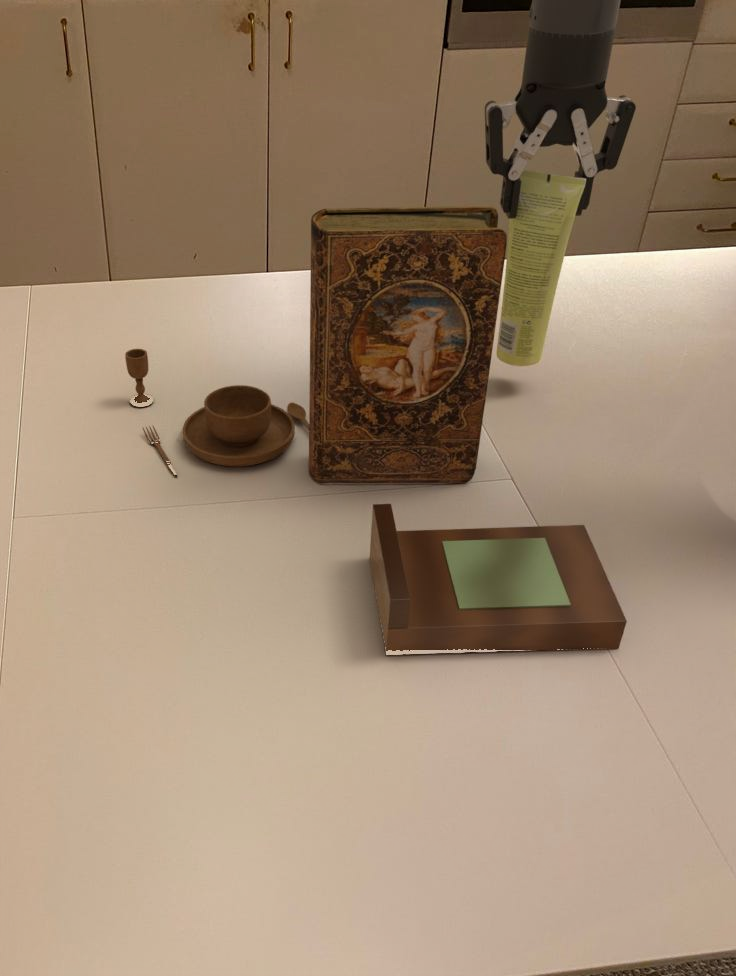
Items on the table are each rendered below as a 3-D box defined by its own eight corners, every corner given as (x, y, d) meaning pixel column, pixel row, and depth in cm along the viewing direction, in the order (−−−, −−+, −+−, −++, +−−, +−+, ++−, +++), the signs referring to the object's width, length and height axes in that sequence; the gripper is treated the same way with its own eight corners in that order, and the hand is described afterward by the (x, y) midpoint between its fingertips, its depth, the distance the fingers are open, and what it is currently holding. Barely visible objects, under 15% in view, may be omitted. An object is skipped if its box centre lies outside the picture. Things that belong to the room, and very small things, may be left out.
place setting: (177, 489, 99) (172, 438, 95) (121, 400, 113) (115, 351, 109) (335, 451, 103) (336, 400, 99) (263, 369, 117) (262, 322, 113)
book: (308, 484, 99) (311, 232, 82) (308, 455, 103) (311, 208, 86) (473, 484, 98) (510, 229, 81) (467, 454, 102) (500, 205, 85)
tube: (535, 344, 112) (564, 161, 99) (554, 364, 108) (587, 177, 95) (488, 350, 111) (511, 167, 98) (505, 371, 108) (531, 183, 94)
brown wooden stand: (577, 551, 90) (591, 496, 86) (618, 648, 80) (635, 592, 76) (369, 558, 90) (372, 503, 86) (385, 656, 80) (390, 600, 76)
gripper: (500, 34, 85) (477, 231, 97) (667, 26, 85) (625, 225, 96) (484, 16, 91) (464, 205, 102) (641, 9, 91) (604, 199, 102)
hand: (542, 214), depth 99 cm, fingers closed on tube, 6 cm apart
